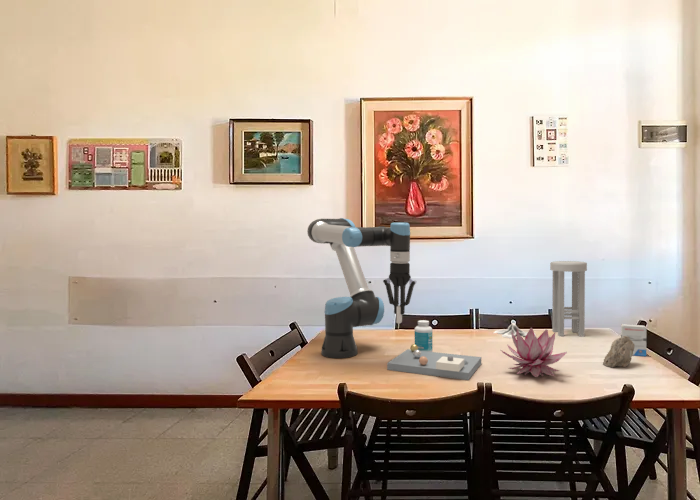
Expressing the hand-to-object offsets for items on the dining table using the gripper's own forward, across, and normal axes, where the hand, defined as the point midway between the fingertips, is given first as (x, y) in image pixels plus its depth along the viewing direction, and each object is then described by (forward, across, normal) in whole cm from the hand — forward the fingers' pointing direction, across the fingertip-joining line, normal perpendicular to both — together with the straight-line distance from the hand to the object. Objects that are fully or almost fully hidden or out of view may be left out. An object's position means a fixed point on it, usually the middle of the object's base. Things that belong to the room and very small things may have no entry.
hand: (399, 322), depth 184 cm
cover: (+12, +22, -11) cm, 27 cm away
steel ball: (+11, +8, -1) cm, 14 cm away
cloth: (+17, +40, +66) cm, 78 cm away
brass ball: (+12, +4, +7) cm, 14 cm away
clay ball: (+11, +12, -10) cm, 19 cm away
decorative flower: (+15, +49, +1) cm, 51 cm away
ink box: (+14, +87, +41) cm, 97 cm away
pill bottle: (+16, +6, +16) cm, 24 cm away
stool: (+16, +64, +73) cm, 99 cm away
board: (+15, +15, -2) cm, 21 cm away
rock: (+14, +79, +23) cm, 83 cm away
